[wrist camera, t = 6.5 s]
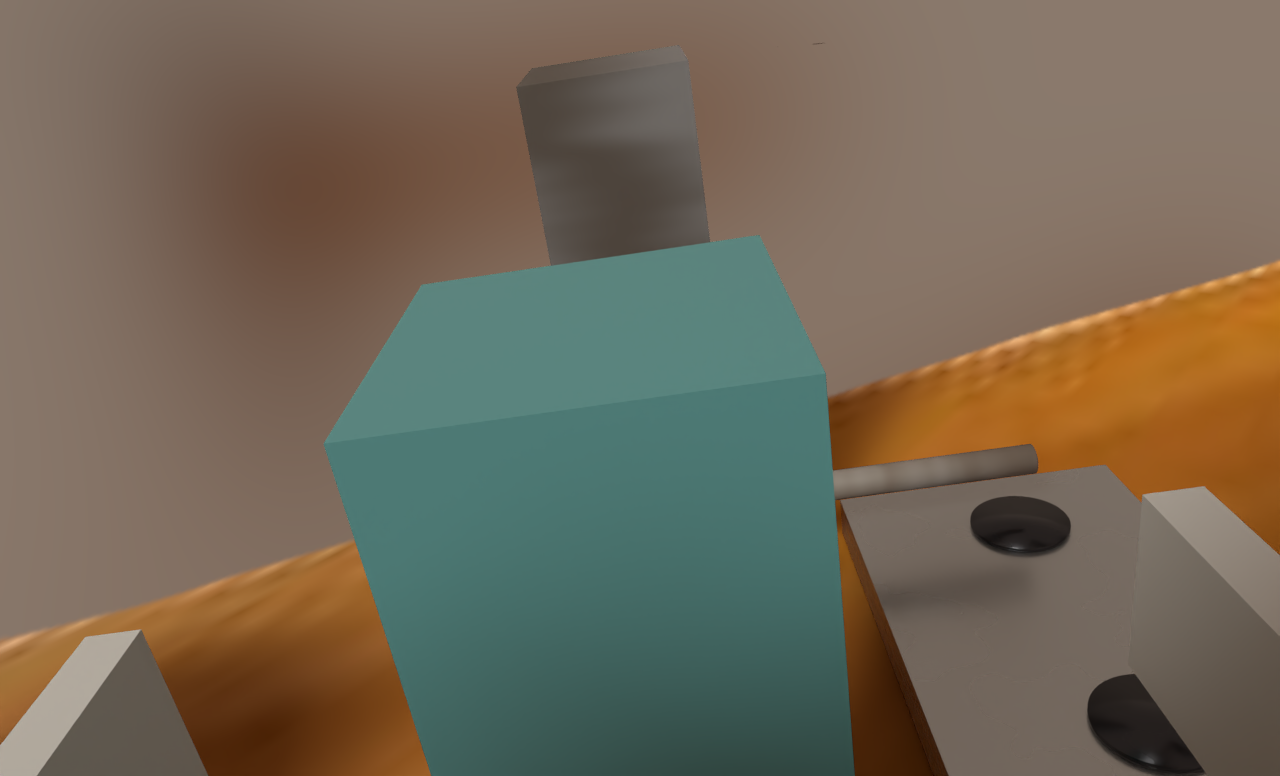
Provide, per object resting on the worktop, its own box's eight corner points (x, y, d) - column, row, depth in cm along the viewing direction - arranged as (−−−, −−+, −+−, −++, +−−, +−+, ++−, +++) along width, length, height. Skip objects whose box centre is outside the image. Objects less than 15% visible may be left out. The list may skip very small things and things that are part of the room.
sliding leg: (1325, 877, 15) (1493, 107, 10) (1626, 1274, 11) (2203, 231, 6) (563, 961, 16) (373, 274, 11) (538, 1372, 11) (187, 509, 6)
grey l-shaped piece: (998, 512, 29) (1003, -9, 23) (1537, 1318, 12) (2141, 98, 6) (604, 564, 30) (506, 70, 24) (575, 1403, 13) (183, 380, 6)
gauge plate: (1103, 498, 29) (1105, 460, 29) (1802, 1294, 12) (1843, 1237, 11) (842, 533, 29) (839, 496, 29) (1150, 1352, 12) (1158, 1300, 12)
